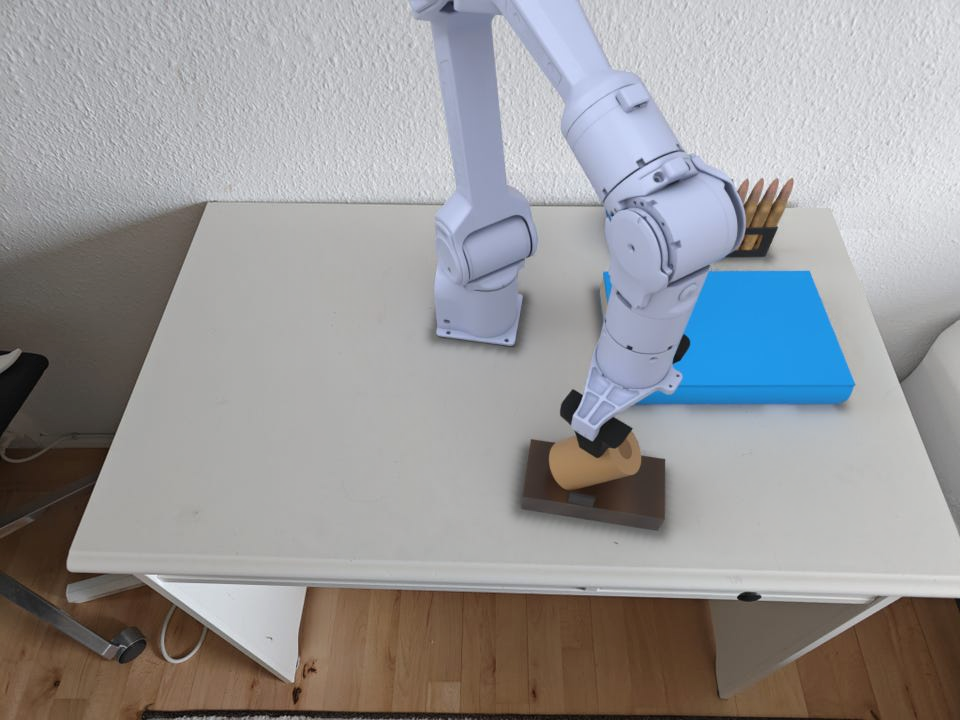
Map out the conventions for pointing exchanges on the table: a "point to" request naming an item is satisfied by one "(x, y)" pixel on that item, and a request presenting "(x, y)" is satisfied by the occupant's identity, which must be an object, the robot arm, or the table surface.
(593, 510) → the stand
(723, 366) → the book
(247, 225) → the table surface
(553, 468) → the towel roll
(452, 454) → the table surface
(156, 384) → the table surface
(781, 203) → the ammunition clip
